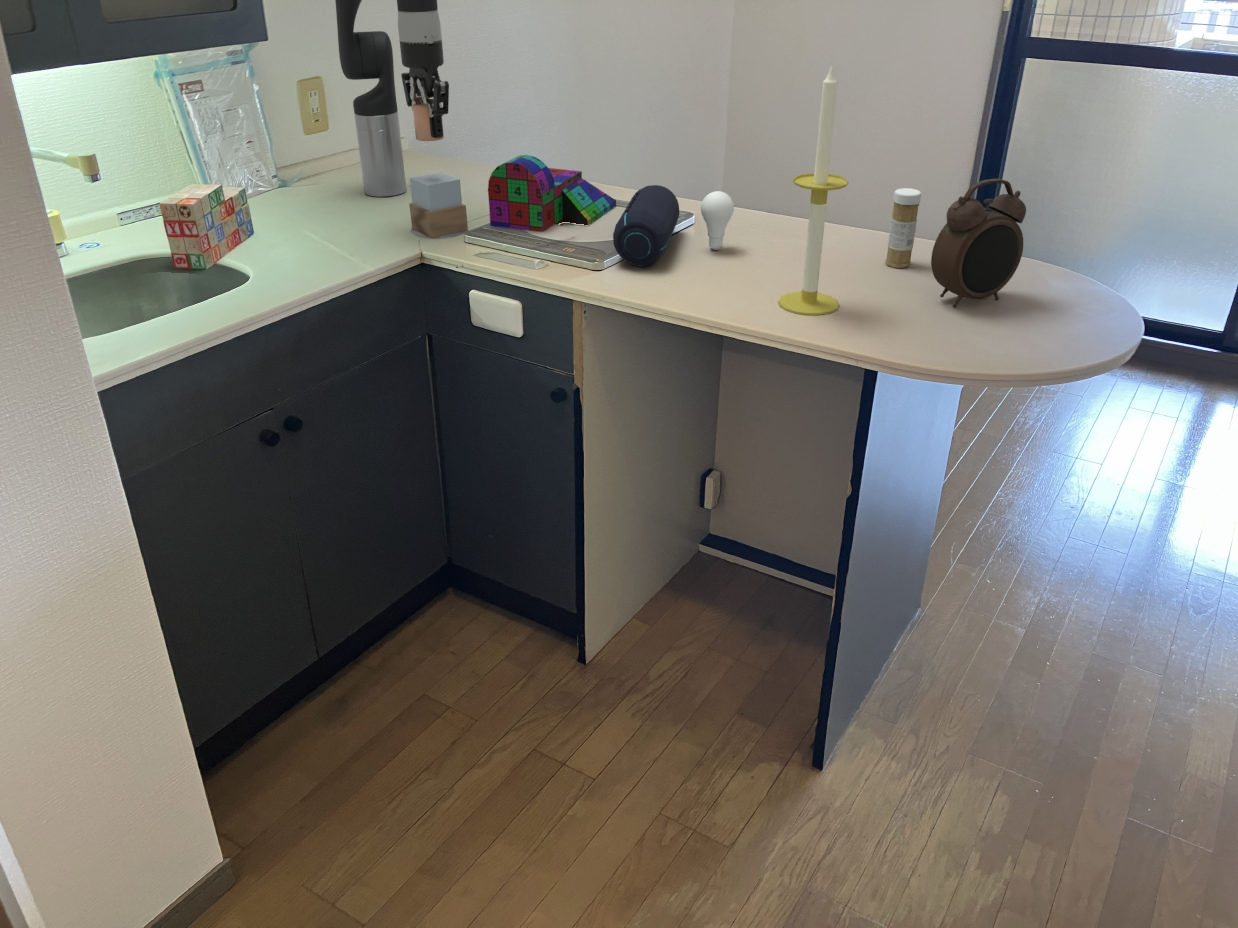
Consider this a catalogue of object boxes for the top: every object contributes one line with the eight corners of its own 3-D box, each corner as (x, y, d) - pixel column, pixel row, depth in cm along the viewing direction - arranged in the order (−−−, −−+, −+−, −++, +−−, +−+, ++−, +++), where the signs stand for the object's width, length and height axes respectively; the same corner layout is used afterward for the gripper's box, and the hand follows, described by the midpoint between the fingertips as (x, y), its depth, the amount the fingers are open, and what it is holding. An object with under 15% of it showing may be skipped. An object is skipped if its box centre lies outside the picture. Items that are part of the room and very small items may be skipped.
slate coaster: (402, 233, 200) (401, 228, 199) (450, 223, 206) (449, 218, 205) (429, 247, 193) (428, 242, 192) (478, 236, 198) (478, 231, 198)
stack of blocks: (224, 233, 201) (211, 171, 195) (255, 234, 201) (243, 171, 194) (174, 269, 183) (158, 202, 176) (207, 270, 182) (192, 203, 176)
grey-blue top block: (412, 204, 197) (409, 178, 194) (443, 197, 200) (441, 172, 198) (430, 212, 192) (427, 185, 189) (462, 205, 196) (459, 179, 193)
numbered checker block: (568, 241, 196) (565, 168, 189) (490, 231, 202) (485, 159, 194) (616, 207, 216) (615, 139, 209) (544, 199, 222) (542, 132, 214)
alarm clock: (949, 315, 162) (971, 191, 152) (921, 300, 168) (940, 180, 158) (1020, 301, 167) (1045, 181, 157) (990, 287, 173) (1012, 170, 163)
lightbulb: (736, 247, 192) (739, 189, 186) (725, 256, 187) (728, 198, 182) (705, 243, 194) (708, 186, 189) (694, 252, 189) (696, 194, 184)
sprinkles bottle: (899, 259, 186) (909, 186, 179) (915, 266, 182) (927, 192, 175) (879, 263, 184) (889, 189, 177) (895, 270, 180) (906, 195, 174)
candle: (839, 317, 162) (868, 70, 143) (776, 313, 163) (796, 68, 144) (838, 295, 170) (865, 59, 151) (779, 291, 172) (798, 57, 153)
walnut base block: (412, 228, 199) (409, 203, 197) (447, 221, 204) (445, 196, 201) (432, 238, 194) (429, 213, 191) (467, 230, 198) (465, 205, 196)
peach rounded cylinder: (411, 137, 190) (407, 104, 187) (435, 133, 193) (432, 101, 190) (424, 142, 187) (420, 109, 183) (448, 138, 189) (446, 105, 186)
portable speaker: (632, 228, 202) (632, 178, 197) (681, 231, 201) (682, 181, 196) (609, 270, 181) (608, 216, 176) (664, 274, 180) (665, 218, 175)
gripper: (383, 35, 184) (394, 131, 192) (421, 44, 174) (430, 144, 183) (419, 31, 188) (428, 125, 196) (459, 40, 178) (466, 138, 186)
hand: (429, 134), depth 189 cm, fingers closed on peach rounded cylinder, 5 cm apart
